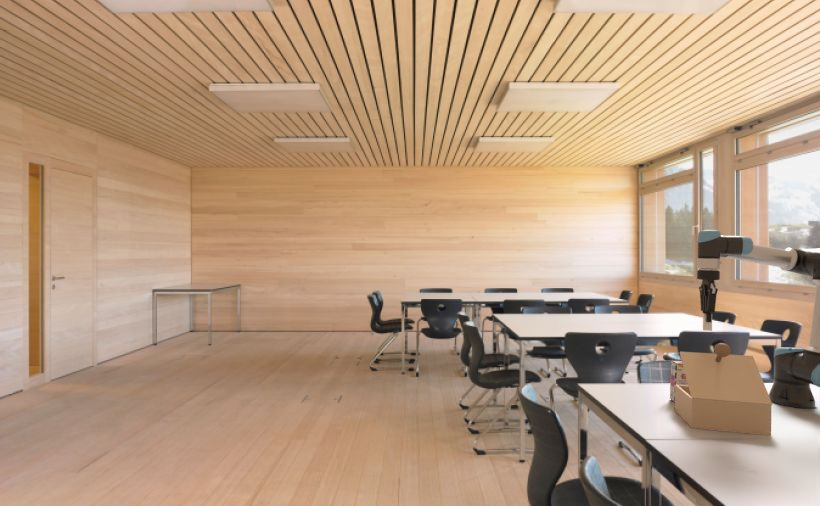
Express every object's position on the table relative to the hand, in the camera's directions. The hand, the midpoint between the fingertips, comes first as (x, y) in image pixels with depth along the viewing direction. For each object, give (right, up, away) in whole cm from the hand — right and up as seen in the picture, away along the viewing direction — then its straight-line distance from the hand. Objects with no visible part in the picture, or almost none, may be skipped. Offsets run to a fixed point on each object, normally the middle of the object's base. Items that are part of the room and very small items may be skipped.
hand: (707, 330), depth 186 cm
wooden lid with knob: (-4, -14, -15) cm, 21 cm away
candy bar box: (-2, -32, +11) cm, 34 cm away
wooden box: (-4, -31, -13) cm, 34 cm away
